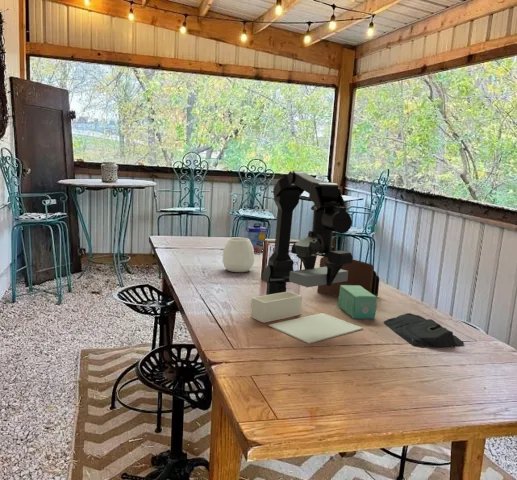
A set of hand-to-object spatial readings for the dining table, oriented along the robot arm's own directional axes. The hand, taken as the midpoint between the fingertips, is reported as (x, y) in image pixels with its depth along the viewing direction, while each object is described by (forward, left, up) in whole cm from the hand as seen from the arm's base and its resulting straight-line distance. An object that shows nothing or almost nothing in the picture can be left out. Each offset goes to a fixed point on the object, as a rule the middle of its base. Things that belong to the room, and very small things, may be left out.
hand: (318, 282), depth 142 cm
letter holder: (-20, +37, -14) cm, 44 cm away
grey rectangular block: (0, 0, 0) cm, 1 cm away
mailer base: (-14, -3, -13) cm, 19 cm away
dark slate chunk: (+19, +23, -14) cm, 33 cm away
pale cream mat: (0, 0, -13) cm, 13 cm away
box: (-4, +22, -14) cm, 26 cm away
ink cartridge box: (-100, +58, -13) cm, 116 cm away
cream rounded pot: (-68, +23, -13) cm, 73 cm away
